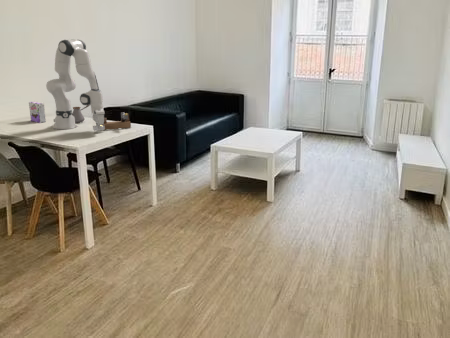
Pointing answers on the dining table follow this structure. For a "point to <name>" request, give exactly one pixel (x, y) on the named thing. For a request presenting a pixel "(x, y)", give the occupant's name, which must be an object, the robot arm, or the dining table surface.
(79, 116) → the coffee pot
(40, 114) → the candy box
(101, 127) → the cap
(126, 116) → the lever
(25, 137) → the dining table surface
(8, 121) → the dining table surface
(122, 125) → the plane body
